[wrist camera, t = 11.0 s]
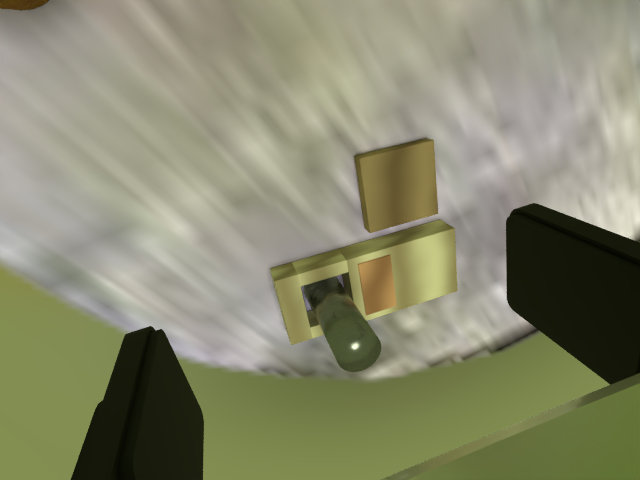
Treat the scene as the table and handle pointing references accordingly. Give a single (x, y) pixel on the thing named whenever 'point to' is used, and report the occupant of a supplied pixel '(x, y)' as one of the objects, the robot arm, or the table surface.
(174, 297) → the table surface
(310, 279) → the block with square hole
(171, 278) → the table surface
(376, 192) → the tab
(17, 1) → the disposable coffee cup
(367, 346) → the peg
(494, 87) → the table surface
